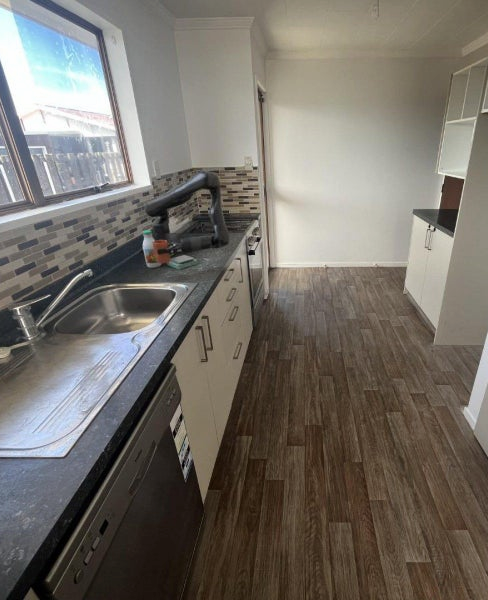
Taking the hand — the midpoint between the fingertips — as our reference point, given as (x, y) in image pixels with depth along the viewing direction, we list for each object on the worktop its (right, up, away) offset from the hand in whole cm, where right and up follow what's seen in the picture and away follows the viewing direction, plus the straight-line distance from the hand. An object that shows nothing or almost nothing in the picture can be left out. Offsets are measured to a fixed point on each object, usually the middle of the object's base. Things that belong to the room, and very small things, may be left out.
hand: (156, 250), depth 160 cm
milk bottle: (-13, -5, +26) cm, 30 cm away
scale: (+3, -4, +28) cm, 28 cm away
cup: (+2, -5, +4) cm, 6 cm away
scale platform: (+3, -1, +26) cm, 27 cm away
